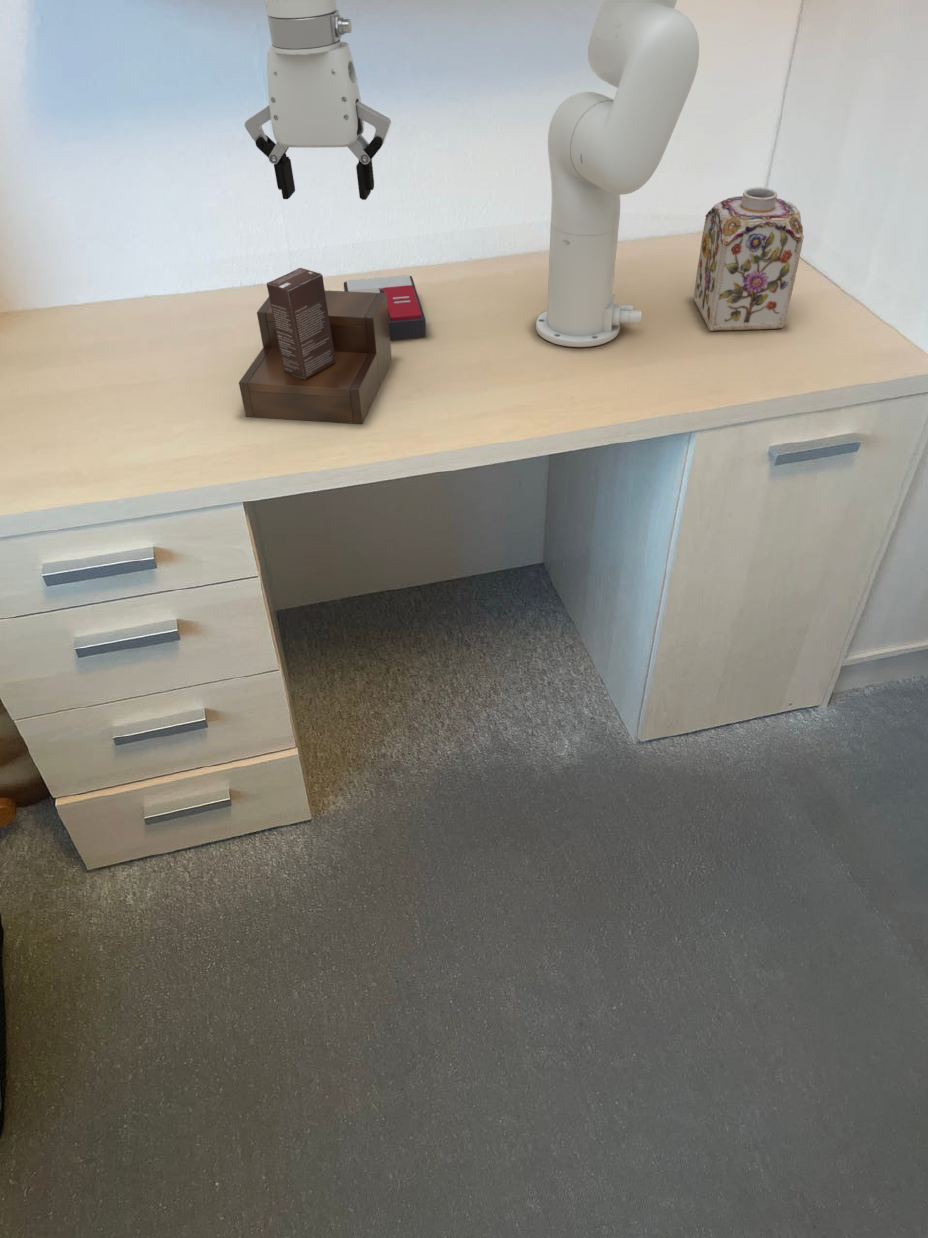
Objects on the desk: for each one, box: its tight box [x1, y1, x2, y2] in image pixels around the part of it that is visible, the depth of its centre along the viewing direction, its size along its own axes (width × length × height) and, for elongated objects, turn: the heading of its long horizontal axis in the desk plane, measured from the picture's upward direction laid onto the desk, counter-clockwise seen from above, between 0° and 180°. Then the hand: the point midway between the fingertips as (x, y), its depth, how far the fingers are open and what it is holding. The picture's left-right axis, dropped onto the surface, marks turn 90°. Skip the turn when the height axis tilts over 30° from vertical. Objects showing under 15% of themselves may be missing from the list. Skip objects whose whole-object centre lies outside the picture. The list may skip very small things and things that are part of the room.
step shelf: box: [238, 290, 393, 425], centre depth 123 cm, size 16×18×10 cm
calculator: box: [343, 274, 427, 342], centre depth 140 cm, size 11×4×15 cm
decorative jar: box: [693, 186, 805, 332], centre depth 134 cm, size 12×12×18 cm
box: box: [266, 267, 336, 380], centre depth 116 cm, size 6×4×12 cm
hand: (327, 195), depth 111 cm, fingers open, 9 cm apart
